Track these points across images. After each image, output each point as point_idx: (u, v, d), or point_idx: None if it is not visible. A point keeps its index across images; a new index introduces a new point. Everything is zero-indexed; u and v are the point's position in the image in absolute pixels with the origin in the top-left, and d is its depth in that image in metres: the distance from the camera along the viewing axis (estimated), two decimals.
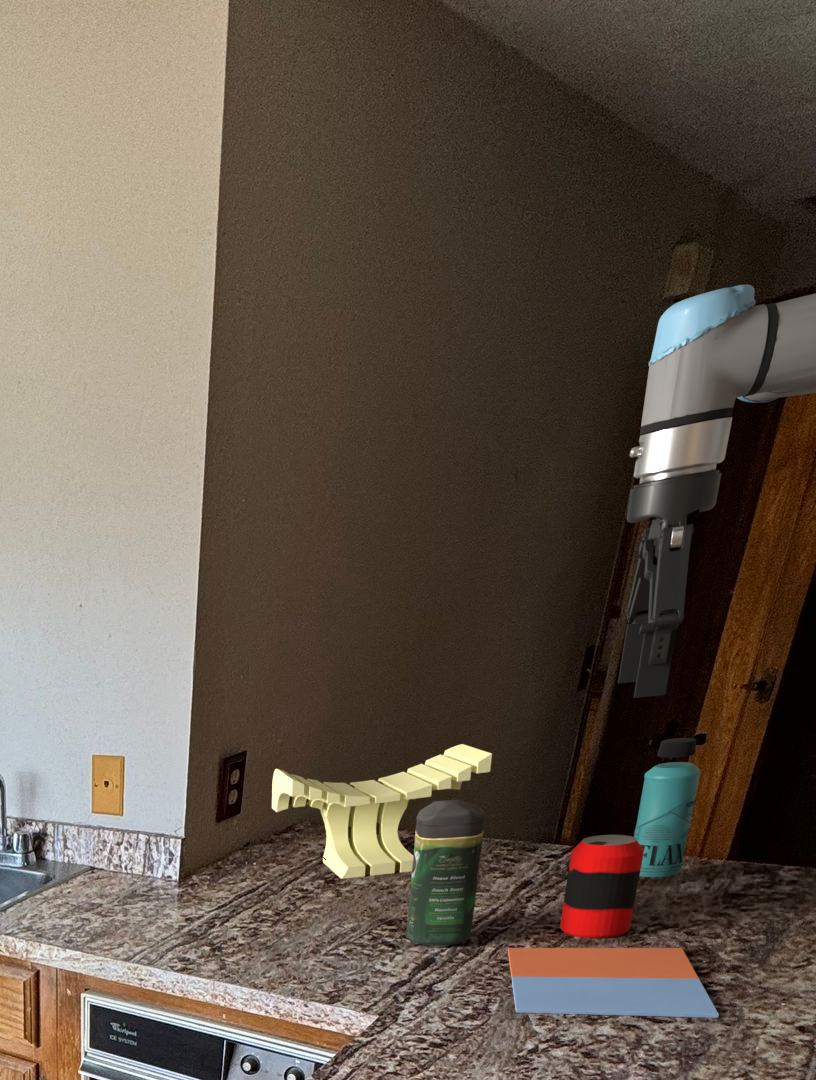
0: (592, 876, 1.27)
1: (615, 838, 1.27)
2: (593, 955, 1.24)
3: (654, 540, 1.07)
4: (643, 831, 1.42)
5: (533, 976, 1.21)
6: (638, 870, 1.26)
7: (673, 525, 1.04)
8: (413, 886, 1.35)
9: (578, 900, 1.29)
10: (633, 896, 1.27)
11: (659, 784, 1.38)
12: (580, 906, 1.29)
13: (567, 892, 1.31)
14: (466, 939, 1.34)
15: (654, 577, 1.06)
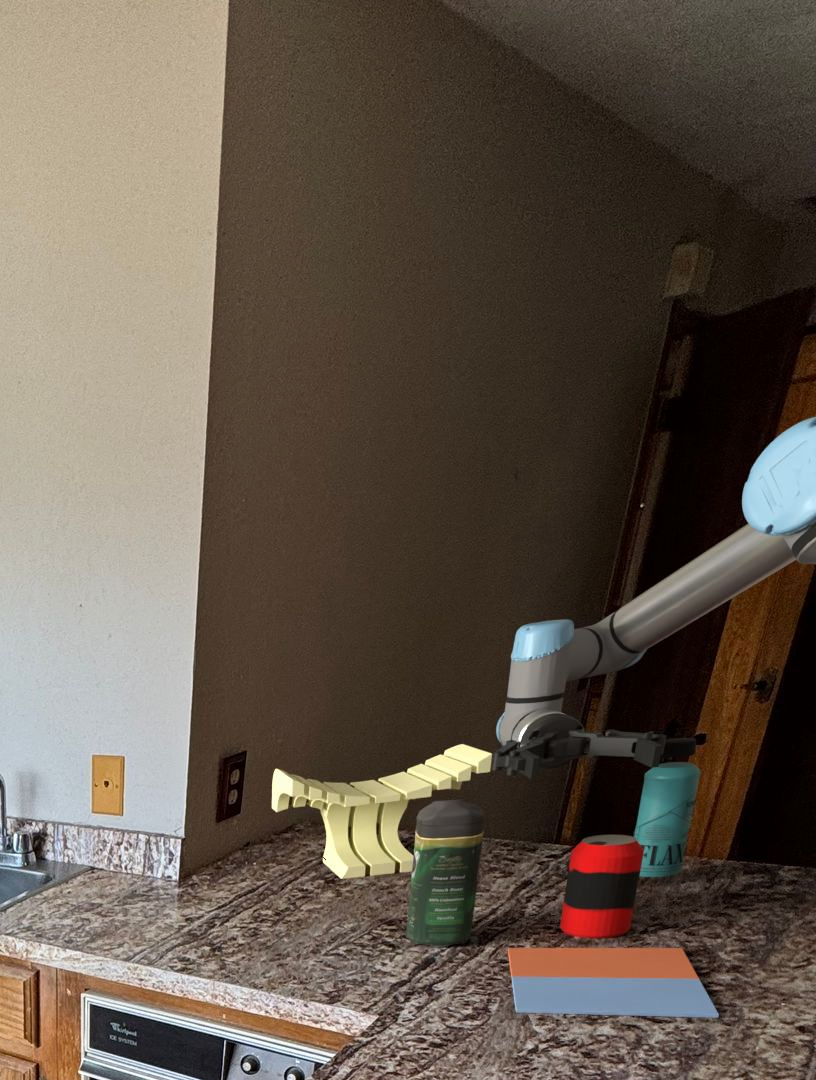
0: (592, 876, 1.27)
1: (615, 838, 1.27)
2: (593, 955, 1.24)
3: None
4: (643, 831, 1.42)
5: (533, 976, 1.21)
6: (638, 870, 1.26)
7: None
8: (413, 886, 1.35)
9: (578, 900, 1.29)
10: (633, 896, 1.27)
11: (659, 784, 1.38)
12: (580, 906, 1.29)
13: (567, 892, 1.31)
14: (466, 939, 1.34)
15: None
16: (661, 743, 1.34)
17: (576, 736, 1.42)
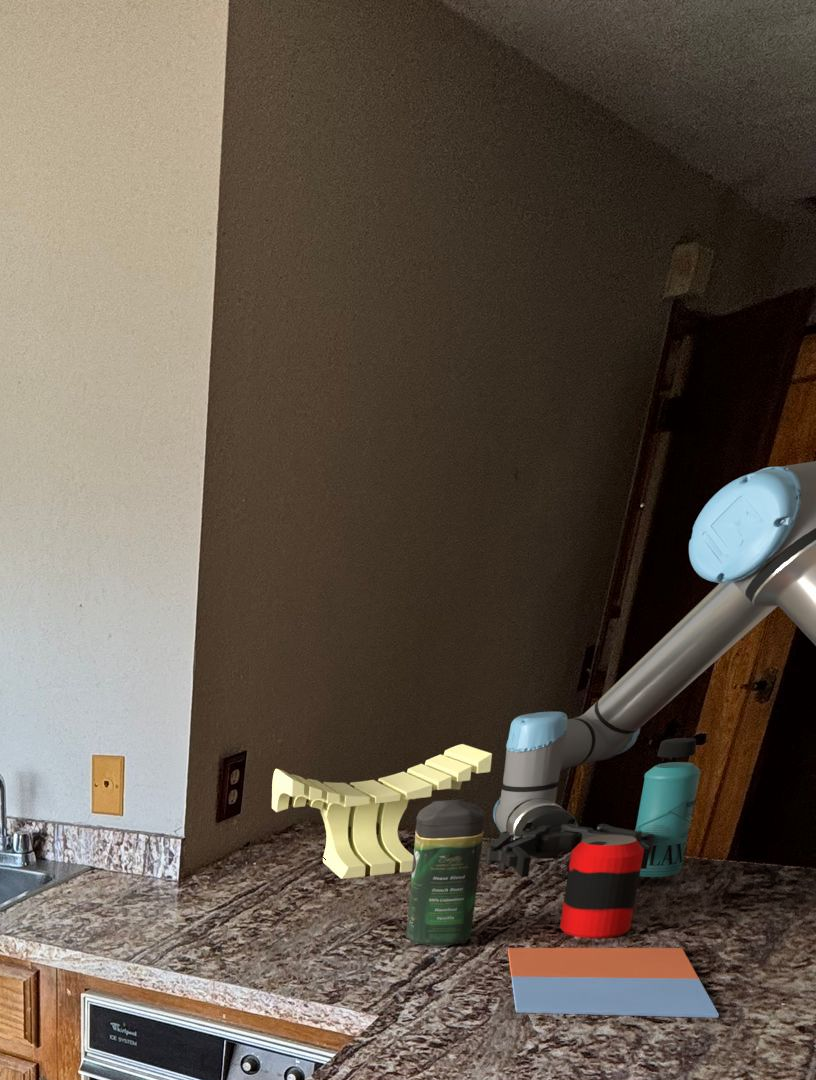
0: (592, 876, 1.27)
1: (615, 838, 1.27)
2: (593, 955, 1.24)
3: None
4: (643, 831, 1.42)
5: (533, 976, 1.21)
6: (638, 870, 1.26)
7: None
8: (413, 886, 1.35)
9: (578, 900, 1.29)
10: (633, 896, 1.27)
11: (659, 784, 1.38)
12: (580, 906, 1.29)
13: (567, 892, 1.31)
14: (466, 939, 1.34)
15: None
16: (650, 842, 1.38)
17: (568, 830, 1.46)
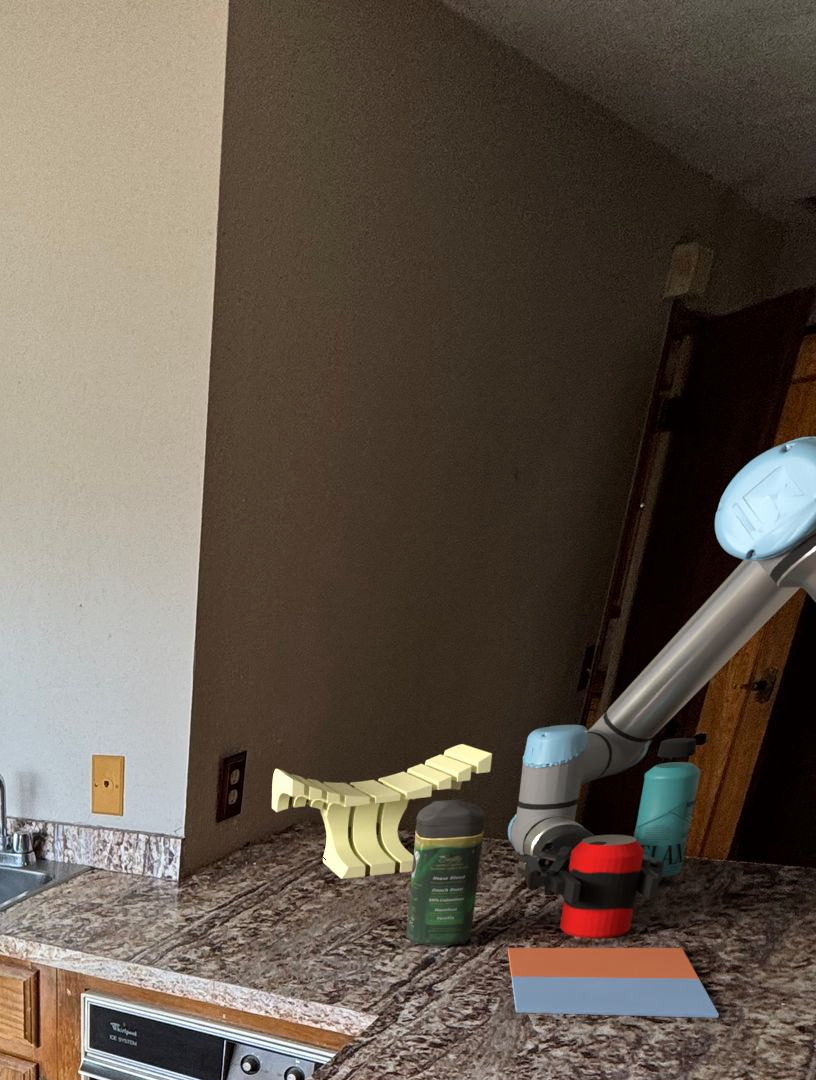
0: (592, 876, 1.27)
1: (615, 838, 1.27)
2: (593, 955, 1.24)
3: None
4: (643, 831, 1.42)
5: (533, 976, 1.21)
6: (638, 870, 1.26)
7: None
8: (413, 886, 1.35)
9: (578, 900, 1.29)
10: (633, 896, 1.27)
11: (659, 784, 1.38)
12: (580, 906, 1.29)
13: None
14: (466, 939, 1.34)
15: None
16: (657, 870, 1.29)
17: None
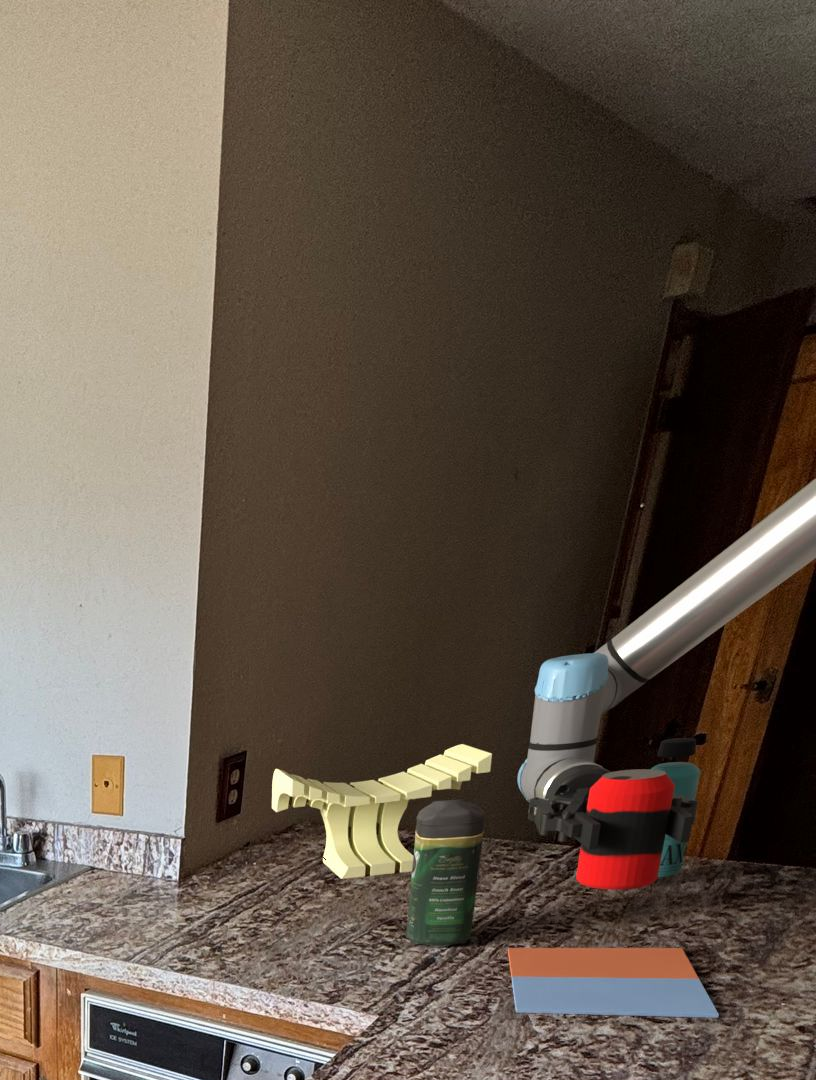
0: (613, 816, 1.09)
1: (641, 772, 1.10)
2: (593, 955, 1.24)
3: None
4: None
5: (533, 976, 1.21)
6: (668, 809, 1.08)
7: None
8: (413, 886, 1.35)
9: None
10: (662, 840, 1.09)
11: None
12: (600, 852, 1.12)
13: None
14: (466, 939, 1.34)
15: None
16: (690, 811, 1.11)
17: None
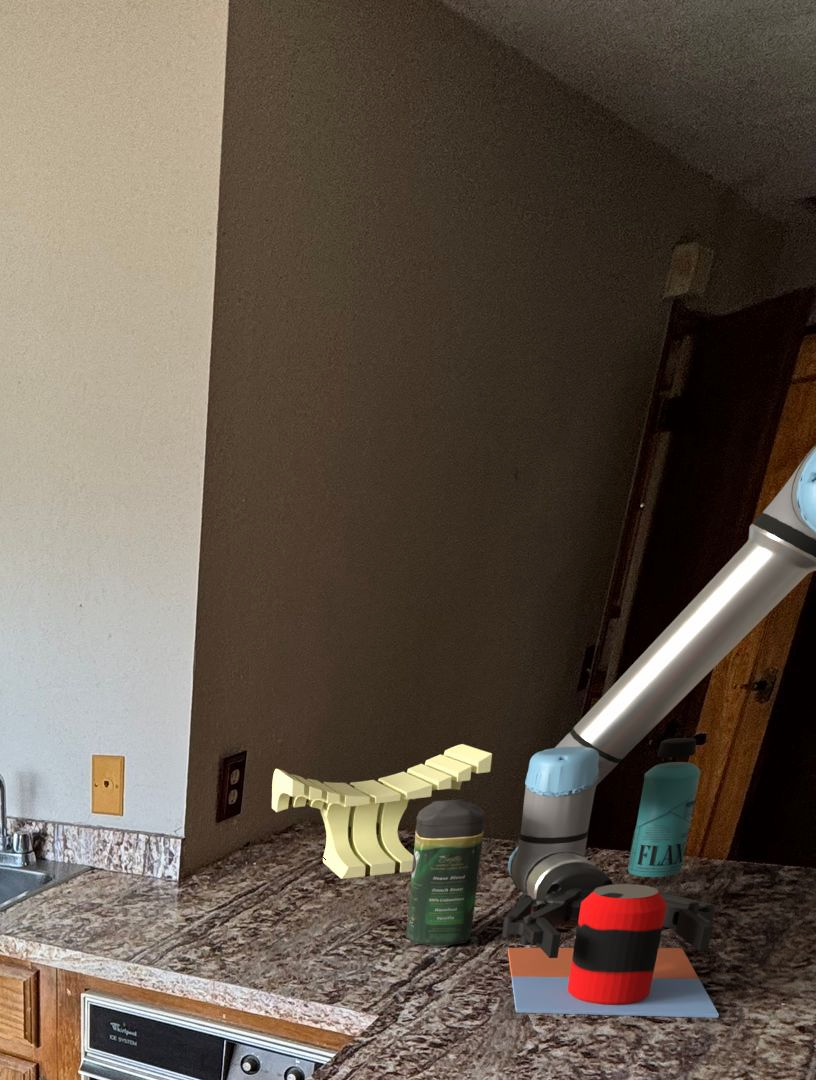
0: (605, 933, 1.08)
1: (633, 889, 1.08)
2: None
3: None
4: (643, 831, 1.42)
5: (533, 976, 1.21)
6: (660, 927, 1.07)
7: None
8: (413, 886, 1.35)
9: (589, 961, 1.10)
10: (654, 957, 1.08)
11: (659, 784, 1.38)
12: (591, 968, 1.10)
13: (576, 950, 1.12)
14: (466, 939, 1.34)
15: None
16: (709, 915, 1.10)
17: None
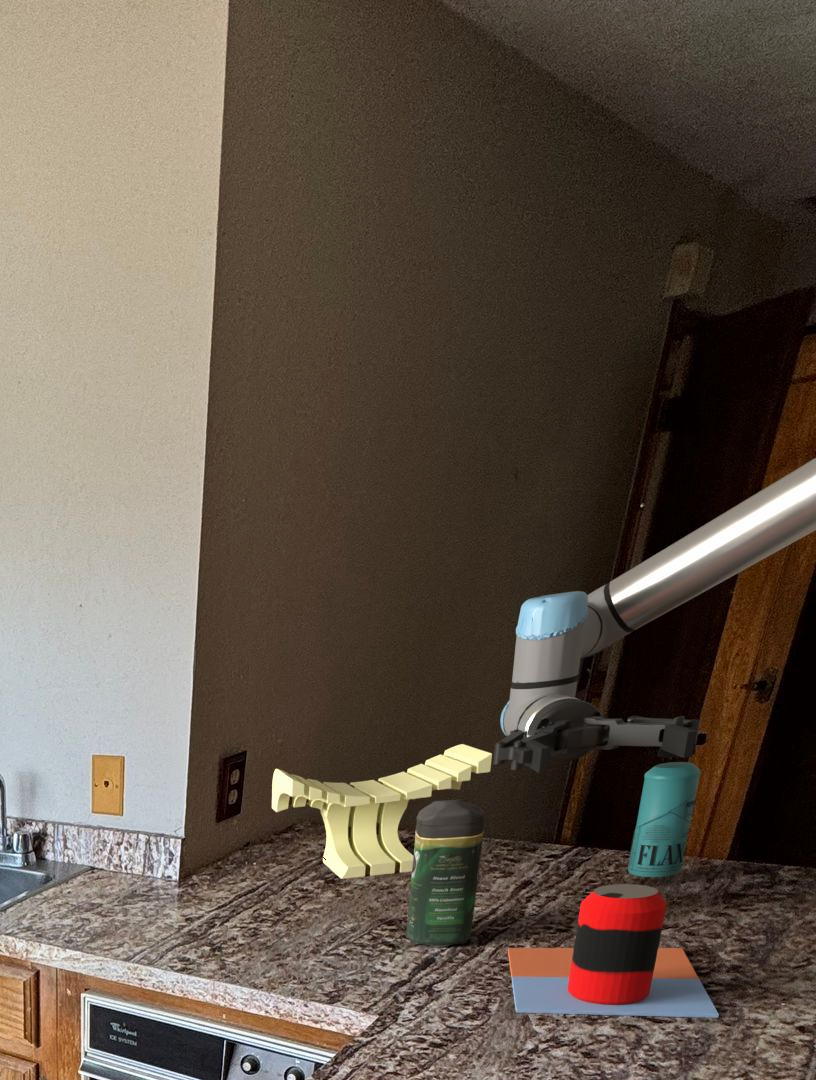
0: (605, 933, 1.08)
1: (632, 889, 1.08)
2: None
3: None
4: (643, 831, 1.42)
5: (533, 976, 1.21)
6: (660, 927, 1.07)
7: None
8: (413, 886, 1.35)
9: (589, 961, 1.10)
10: (654, 957, 1.08)
11: (659, 784, 1.38)
12: (591, 968, 1.10)
13: (576, 950, 1.12)
14: (466, 939, 1.34)
15: None
16: (694, 730, 1.13)
17: (592, 724, 1.21)
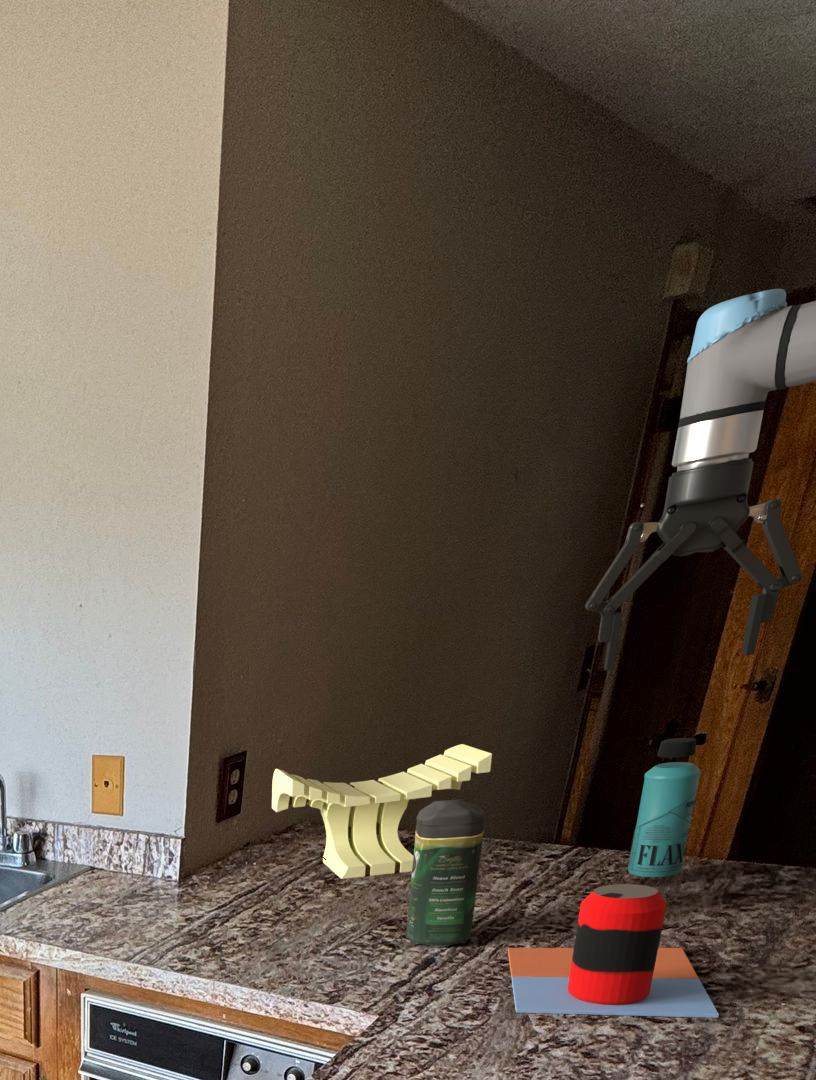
0: (605, 933, 1.08)
1: (632, 889, 1.08)
2: None
3: None
4: (643, 831, 1.42)
5: (533, 976, 1.21)
6: (660, 927, 1.07)
7: (663, 516, 1.18)
8: (413, 886, 1.35)
9: (589, 961, 1.10)
10: (654, 957, 1.08)
11: (659, 784, 1.38)
12: (591, 968, 1.10)
13: (576, 950, 1.12)
14: (466, 939, 1.34)
15: (645, 562, 1.21)
16: (792, 583, 1.15)
17: (716, 534, 1.16)
